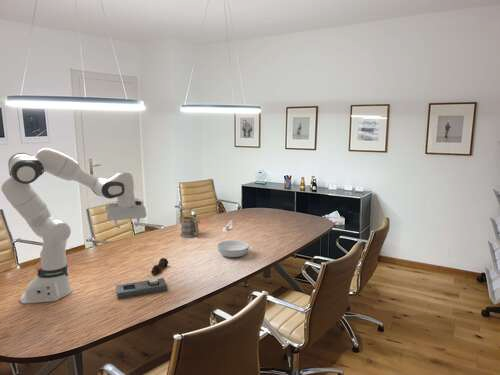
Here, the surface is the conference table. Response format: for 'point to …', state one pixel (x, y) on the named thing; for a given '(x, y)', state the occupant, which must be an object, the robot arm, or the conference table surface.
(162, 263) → the bolt
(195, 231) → the tankard
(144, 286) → the grey slotted board
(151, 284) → the wood grain block
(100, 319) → the conference table surface
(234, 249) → the serving bowl
